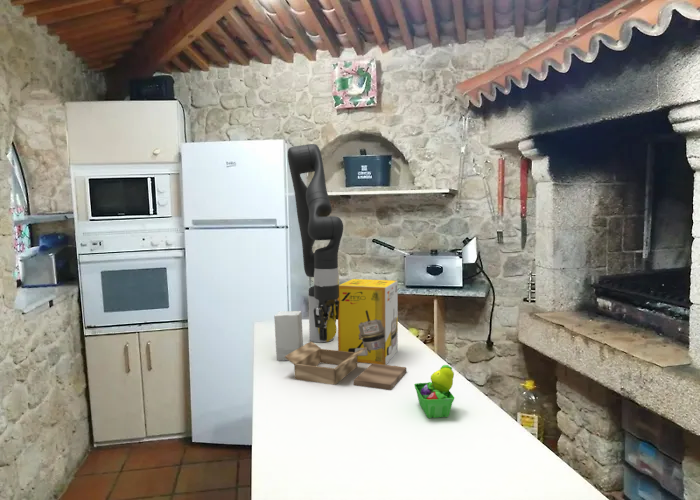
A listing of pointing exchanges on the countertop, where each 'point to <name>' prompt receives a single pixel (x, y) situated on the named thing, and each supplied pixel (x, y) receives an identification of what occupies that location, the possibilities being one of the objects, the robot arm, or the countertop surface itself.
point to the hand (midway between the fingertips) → (327, 337)
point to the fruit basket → (437, 393)
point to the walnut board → (380, 376)
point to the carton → (314, 355)
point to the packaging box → (369, 319)
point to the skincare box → (288, 333)
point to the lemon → (330, 329)
